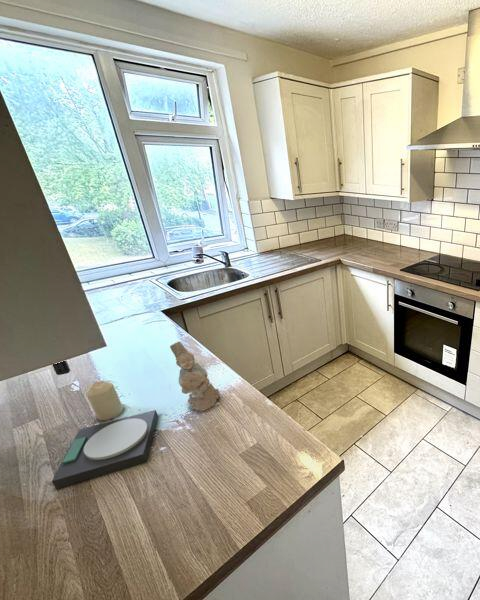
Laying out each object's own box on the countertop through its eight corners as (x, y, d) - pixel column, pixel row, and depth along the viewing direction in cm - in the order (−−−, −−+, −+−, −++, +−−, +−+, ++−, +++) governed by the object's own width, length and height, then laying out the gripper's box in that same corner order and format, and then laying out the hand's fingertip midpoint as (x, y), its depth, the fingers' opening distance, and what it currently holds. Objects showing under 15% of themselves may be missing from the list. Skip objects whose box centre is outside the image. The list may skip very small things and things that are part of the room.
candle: (102, 423, 87) (88, 393, 83) (94, 415, 90) (80, 386, 86) (126, 411, 91) (114, 382, 87) (118, 403, 94) (106, 375, 90)
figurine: (186, 399, 96) (167, 340, 88) (218, 388, 100) (202, 331, 92) (188, 417, 89) (167, 355, 81) (222, 405, 93) (206, 345, 85)
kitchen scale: (55, 489, 70) (49, 478, 69) (83, 436, 83) (78, 426, 82) (146, 461, 76) (142, 451, 75) (158, 416, 89) (154, 407, 88)
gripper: (33, 293, 75) (60, 353, 82) (1, 317, 64) (36, 385, 70) (75, 288, 79) (98, 346, 85) (53, 310, 67) (81, 375, 74)
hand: (70, 363), depth 78 cm, fingers open, 8 cm apart
